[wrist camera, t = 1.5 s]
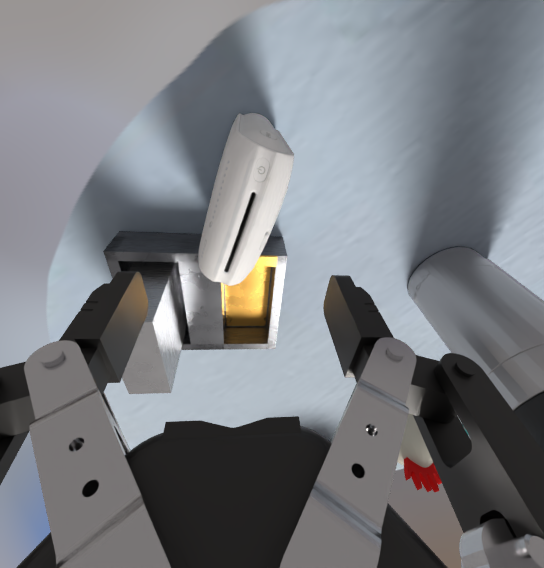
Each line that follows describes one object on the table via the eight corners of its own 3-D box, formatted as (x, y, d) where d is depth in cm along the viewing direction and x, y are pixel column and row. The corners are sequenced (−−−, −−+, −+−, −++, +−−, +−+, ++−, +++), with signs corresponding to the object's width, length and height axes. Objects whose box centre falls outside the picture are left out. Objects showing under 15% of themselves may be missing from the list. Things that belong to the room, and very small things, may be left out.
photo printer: (236, 101, 22) (229, 123, 12) (284, 123, 23) (313, 159, 14) (206, 214, 28) (185, 291, 18) (246, 227, 29) (247, 306, 19)
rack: (282, 236, 30) (298, 303, 21) (272, 326, 38) (280, 399, 30) (119, 230, 28) (62, 301, 19) (146, 326, 37) (115, 405, 28)
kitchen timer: (385, 373, 48) (431, 471, 36) (443, 385, 52) (501, 477, 40) (344, 412, 56) (370, 504, 44) (397, 420, 60) (434, 506, 48)
